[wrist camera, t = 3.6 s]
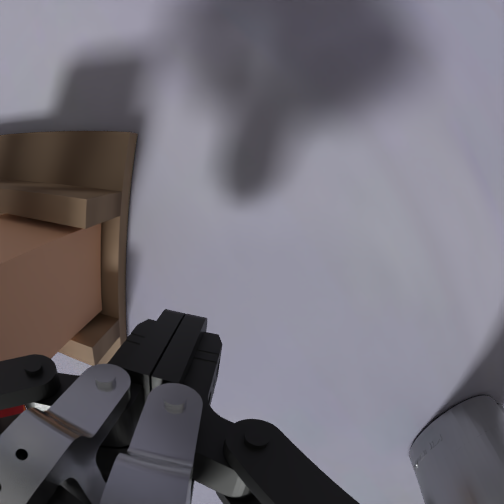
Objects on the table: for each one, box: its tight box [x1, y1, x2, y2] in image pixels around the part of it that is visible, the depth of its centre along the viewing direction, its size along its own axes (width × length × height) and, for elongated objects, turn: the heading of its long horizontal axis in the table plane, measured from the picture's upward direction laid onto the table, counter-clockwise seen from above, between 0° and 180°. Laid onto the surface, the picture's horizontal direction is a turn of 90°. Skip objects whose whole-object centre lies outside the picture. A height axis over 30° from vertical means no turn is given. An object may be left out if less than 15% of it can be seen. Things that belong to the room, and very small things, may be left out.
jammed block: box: [0, 213, 102, 361], centre depth 10 cm, size 6×5×8 cm
